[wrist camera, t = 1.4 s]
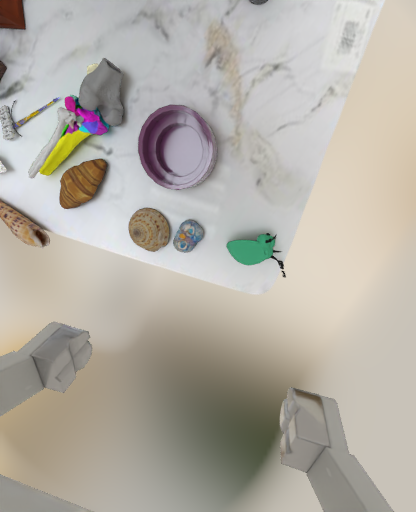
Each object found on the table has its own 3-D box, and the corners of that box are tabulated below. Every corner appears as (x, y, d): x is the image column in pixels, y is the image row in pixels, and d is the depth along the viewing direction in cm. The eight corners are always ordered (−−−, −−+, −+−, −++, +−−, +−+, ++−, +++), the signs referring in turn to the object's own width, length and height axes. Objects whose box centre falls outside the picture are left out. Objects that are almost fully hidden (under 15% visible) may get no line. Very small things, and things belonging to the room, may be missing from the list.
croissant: (95, 146, 46) (77, 143, 42) (119, 175, 47) (104, 175, 43) (56, 192, 51) (36, 194, 46) (79, 218, 52) (61, 222, 47)
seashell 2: (159, 260, 49) (120, 246, 46) (159, 247, 54) (123, 233, 51) (177, 226, 46) (136, 208, 43) (176, 215, 51) (138, 199, 48)
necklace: (-7, 106, 47) (12, 98, 45) (-3, 107, 48) (16, 100, 46) (2, 141, 48) (21, 135, 46) (6, 142, 48) (25, 136, 47)
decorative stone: (187, 212, 46) (203, 231, 44) (195, 219, 49) (210, 236, 48) (162, 236, 46) (177, 255, 45) (172, 241, 50) (186, 259, 49)
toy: (278, 223, 41) (227, 221, 47) (270, 244, 39) (217, 240, 44) (290, 268, 50) (245, 262, 55) (283, 287, 47) (237, 279, 53)
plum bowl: (151, 109, 42) (138, 101, 38) (221, 116, 41) (217, 108, 36) (149, 183, 47) (137, 184, 42) (212, 191, 45) (208, 193, 40)
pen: (9, 133, 48) (6, 133, 48) (7, 129, 48) (4, 129, 48) (62, 99, 44) (59, 98, 44) (60, 95, 44) (57, 94, 44)
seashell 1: (25, 253, 50) (47, 238, 51) (-28, 187, 51) (-5, 174, 52) (37, 257, 54) (57, 243, 55) (-11, 196, 55) (9, 184, 56)
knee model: (60, 162, 54) (127, 66, 42) (72, 192, 52) (144, 100, 40) (10, 148, 46) (75, 24, 34) (21, 182, 44) (94, 64, 33)
